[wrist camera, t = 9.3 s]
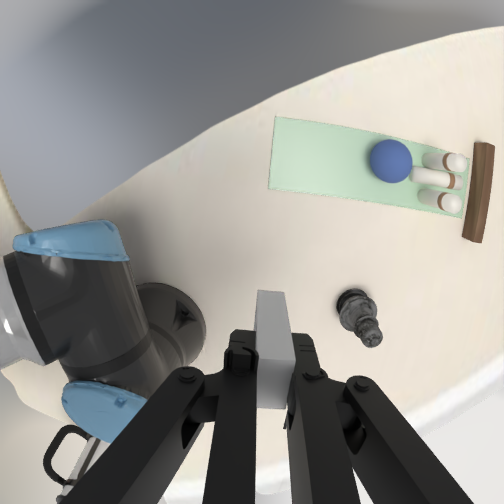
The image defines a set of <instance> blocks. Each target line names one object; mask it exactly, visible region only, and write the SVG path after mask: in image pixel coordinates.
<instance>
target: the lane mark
mask: <svg viewBox="0 0 504 504" xmlns="http://www.w3.org/2000/svg"><path fill="white" fill-rule="evenodd" d="M387 139H393V140H397V141H399V142H401V143H403V144H404V145H405V146H406V147H407V148H408V150H409V151H410V153H411V156H412V160H413V165H412V166H418V167H423V168H425V167H424V166H423V164H422V156H423V155H424V154H425V153H450V152H447V151H444V150H441V149H437V148H434V147H430V146H427V145H423V144H419V143H416V142H412V141H408V140H404V139H400V138H396V137H392V136H387V135H383V134H379V133H374V132H369V131H364V130H359V129H354V128H349V127H343V126H338V125H332V124H326V123H319V122H313V121H306V120H298V119H290V118H282V117H275V125H274V135H273V146H272V156H271V166H270V176H269V186H268V189H274V190H283V191H292V192H301V193H309V194H317V195H325V196H333V197H340V198H347V199H354V200H361V201H368V202H374V203H380V204H387V205H393V206H398V207H404V208H410V209H416V210H421V211H426V212H432V213H437V214H442V215H447V216H452V217H457V218H462V214H463V208H464V201H465V194H466V187H467V179H468V170H469V160H470V159H469V158H466V160H467V168H466V170H465V171H464V172H451V171H446V170H438V171H443V172H449V173H453V174H456V175H460V176H462V178H463V187H462V189H461V190H454V189H447V188H444V187H438V186H433V185H427V184H421V183H415V182H411V181H410V179H409V175H408V177H407V178H406V179H404V180H403V181H401V182H399V183H387V182H384V181H382V180H380V179H379V178H378V177H377V176H376V175H375V174H374V172H373V171H372V168H371V165H370V154H371V151H372V149H373V148H374V147H375V145H376V144H377V143H379V142H381V141H383V140H387ZM433 170H436V169H433ZM421 188H427V189H432V190H436V191H441V192H447V193H451V194H454V195H458V196H459V197H460V198H461V201H462V207H461V210H460V211H459V212H458V213H456V214H453V213H450V212H446V211H443V210H441V209H438V208H435V207H432V206H429V205H426V204H423V203H420V202H419V200H418V198H417V194H418V191H419V190H420V189H421Z"/></svg>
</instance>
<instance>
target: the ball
mask: <svg viewBox="0 0 504 504" xmlns="http://www.w3.org/2000/svg"><path fill="white" fill-rule="evenodd" d="M370 165H371V168H372V171H373V172H374V174H375V175H376V176H377V177H378V178H379V179H380V180H382V181H384V182H387V183H399V182H401V181H403V180H404V179H406V178H407V177H408V175H409V174H410V172H411V170H412V165H413V160H412V156H411V153H410V151H409V150H408V148H407V147H406V146H405V145H404V144H403V143H401V142H399V141H397V140H393V139H387V140H383V141H381V142H379V143H377V144H376V145H375V147H374V148H373V149H372V151H371V154H370Z"/></svg>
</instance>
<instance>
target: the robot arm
mask: <svg viewBox="0 0 504 504" xmlns="http://www.w3.org/2000/svg"><path fill="white" fill-rule="evenodd" d="M13 249H14V250H16V251H15V252H13V253H10V254H8V255H5V256H3V257H1V258H0V370H1V369H4V368H6V367H8V366H10V365H12V364H14V363H16V362H18V361H20V360H22V359H25V360H29V361H32V362H34V363H37V364H39V365H42V366H45V365H47V364H50V363H52V362H54V361H56V360H59V362H60V364H61V366H62V368H63V369H64V371H65V373H66V375H67V377H68V379H69V383H67V384H66V385H65V386H64V388H63V393H62V395H63V396H62V399H61V400H62V405H63V407H64V409H65V411H66V413H67V414H68V416H69V417H70V418H71V419H72V420H73V421H74V422H75V423H76V424H77V425H78V426H79V427H80V428H82V429H83V430H84V431H86V432H87V433H89V434H90V435H92V436H94V437H96V438H98V439H100V440H102V441H105V442H107V443H110V445H109V447H108V448H107V449H106V450H105V451H104V452H103V454H102V455H101V456H100V457H99V458H98V459H97V460H96V462H95V463H94V464H93V465H92V466H91V467H90V469H89V470H88V471H87V472H86V473H85V474H84V475H83V477H82V478H81V479H80V480H79V481H78V482H77V483H76V485H75V486H74V487H73V488H72V489H71V490H70V491H69V493H68V494H67V495H66V496H65V497H64V498H63V499H62V501H61V502H60V503H59V504H157V503H158V502H159V500H160V499H161V497H162V495H163V494H164V492H165V490H166V489H167V487H168V486H169V484H170V482H171V481H172V479H173V477H174V476H175V474H176V472H177V471H178V469H179V467H180V466H181V464H182V462H183V461H184V459H185V457H186V456H187V454H188V452H189V450H190V449H191V447H192V445H193V444H194V442H195V440H196V438H197V437H198V435H199V433H200V431H201V430H202V428H203V426H204V423H205V422H214V421H215V425H214V431H213V438H212V444H211V450H210V457H209V463H208V470H207V476H206V483H205V489H204V496H203V502H202V504H255V473H256V414H257V408H268V409H286V404H287V406H288V410H287V415H286V419H285V423H284V427H283V429H286V426H287V438H288V451H289V465H290V479H291V494H292V504H361V503H360V499H359V494H358V490H357V486H356V481H355V477H354V473H353V469H354V471H355V472H356V474H357V476H358V478H359V479H360V481H361V483H362V484H363V486H364V488H365V490H366V491H367V493H368V495H369V496H370V498H371V500H372V502H373V503H374V504H474V503H473V502H472V501H471V499H470V498H469V497H468V496H467V494H466V493H465V492H464V491H463V490H462V488H461V487H460V486H459V485H458V483H457V482H456V481H455V480H454V478H453V477H452V476H451V474H450V473H449V472H448V471H447V469H446V468H445V467H444V466H443V465H442V463H441V462H440V461H439V460H438V459H437V457H436V456H435V455H434V454H433V452H432V451H431V450H430V449H429V447H428V446H427V445H426V444H425V442H424V441H423V440H422V439H421V437H420V436H419V435H418V434H417V433H416V431H415V430H414V429H413V428H412V426H411V425H410V424H409V423H408V422H407V420H406V419H405V418H404V417H403V416H402V414H401V413H400V412H399V411H398V409H397V408H396V407H395V406H394V405H393V403H392V402H391V401H390V400H389V399H388V397H387V396H386V395H385V394H384V392H383V391H382V390H381V389H380V388H379V386H378V385H377V384H376V383H375V382H374V381H373V380H372V379H370V378H368V377H365V376H353V377H350V378H349V379H348V380H347V382H346V383H344V382H339V381H335V380H332V379H330V378H328V375H327V373H326V371H324V370H323V369H322V368H320V364H319V361H318V357H317V353H316V350H315V347H314V342H313V339H312V338H311V337H310V336H309V335H308V334H302V333H291V329H290V323H289V317H288V312H287V306H286V300H285V295H284V292H276V291H264V290H258V293H257V303H256V312H255V322H254V331H249V330H238V329H235V330H234V331H233V332H232V333H231V334H230V340H229V347H228V348H227V349H226V351H225V352H224V368H223V369H222V370H221V371H220V372H217V373H215V374H210V375H204V374H203V372H202V371H201V370H199V369H197V368H195V367H190V366H188V365H190V364H191V363H192V362H193V361H194V360H195V359H196V358H197V357H198V355H199V354H200V352H201V350H202V347H203V344H204V341H205V336H206V326H205V321H204V318H203V316H202V313H201V312H200V310H199V308H198V307H197V305H196V304H195V303H194V302H193V301H192V300H191V299H190V298H189V297H188V296H187V295H186V294H184V293H183V292H181V291H180V290H178V289H176V288H174V287H171V286H168V285H165V284H159V283H148V284H143V285H139V286H137V287H136V285H135V281H134V278H133V275H132V271H131V267H130V264H129V260H130V259H129V256H128V255H127V254H126V251H125V249H124V246H123V243H122V240H121V236H120V233H119V230H118V228H117V227H116V226H115V224H113V223H112V222H110V221H108V220H104V219H100V220H92V221H86V222H80V223H74V224H69V225H63V226H58V227H53V228H47V229H43V230H38V231H34V232H29V233H25V234H20V235H17V236H15V237H14V239H13ZM352 467H353V469H352Z"/></svg>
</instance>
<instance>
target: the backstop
mask: <svg viewBox="0 0 504 504" xmlns="http://www.w3.org/2000/svg"><path fill="white" fill-rule="evenodd" d="M494 153H495V146H494V145H491V144H489V143H474V155H473V166H472V176H471V184H470V192H469V199H468V205H467V212H466V217H465V223H464V228H463V233H462V237H464V238H466V239H468V240H470V241H472V242H476V243H482V239H483V234H484V229H485V224H486V218H487V212H488V206H489V200H490V193H491V185H492V176H493V166H494Z"/></svg>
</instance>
